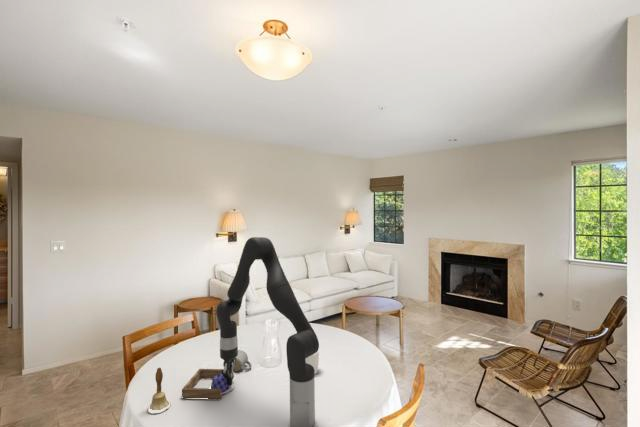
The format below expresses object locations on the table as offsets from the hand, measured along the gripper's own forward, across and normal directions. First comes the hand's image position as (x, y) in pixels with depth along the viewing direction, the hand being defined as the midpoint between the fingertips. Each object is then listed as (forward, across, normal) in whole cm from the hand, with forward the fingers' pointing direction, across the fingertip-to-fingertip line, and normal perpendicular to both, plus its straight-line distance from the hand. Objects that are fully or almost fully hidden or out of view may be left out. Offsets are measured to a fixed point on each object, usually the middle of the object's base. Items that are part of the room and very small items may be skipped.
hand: (229, 384), depth 144 cm
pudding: (+2, 0, +4) cm, 5 cm away
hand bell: (+2, -15, +23) cm, 28 cm away
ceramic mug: (+2, +18, 0) cm, 18 cm away
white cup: (+2, +16, -34) cm, 38 cm away
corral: (+2, 0, +8) cm, 9 cm away
